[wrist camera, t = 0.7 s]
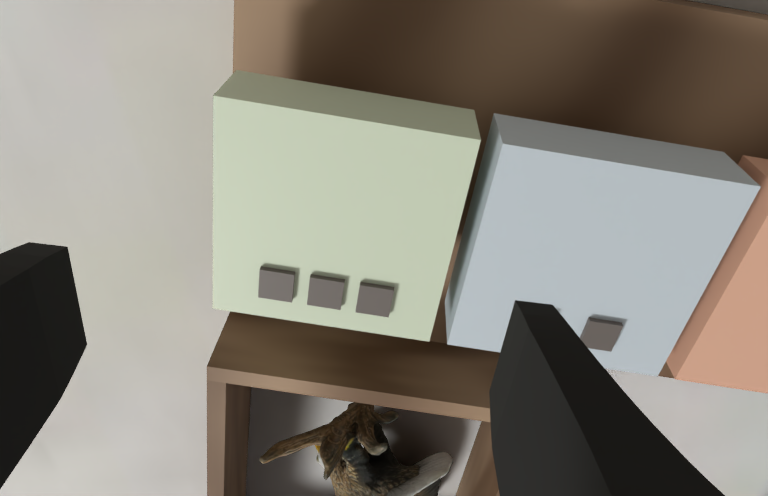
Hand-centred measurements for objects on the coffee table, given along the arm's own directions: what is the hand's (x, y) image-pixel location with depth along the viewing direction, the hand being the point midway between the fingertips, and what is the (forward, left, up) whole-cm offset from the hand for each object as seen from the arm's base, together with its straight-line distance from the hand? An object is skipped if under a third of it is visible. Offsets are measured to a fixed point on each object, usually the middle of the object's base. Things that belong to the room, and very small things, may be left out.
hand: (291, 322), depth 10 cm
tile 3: (0, +1, -7) cm, 7 cm away
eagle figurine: (-3, +15, -10) cm, 18 cm away
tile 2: (-7, +1, -6) cm, 9 cm away
